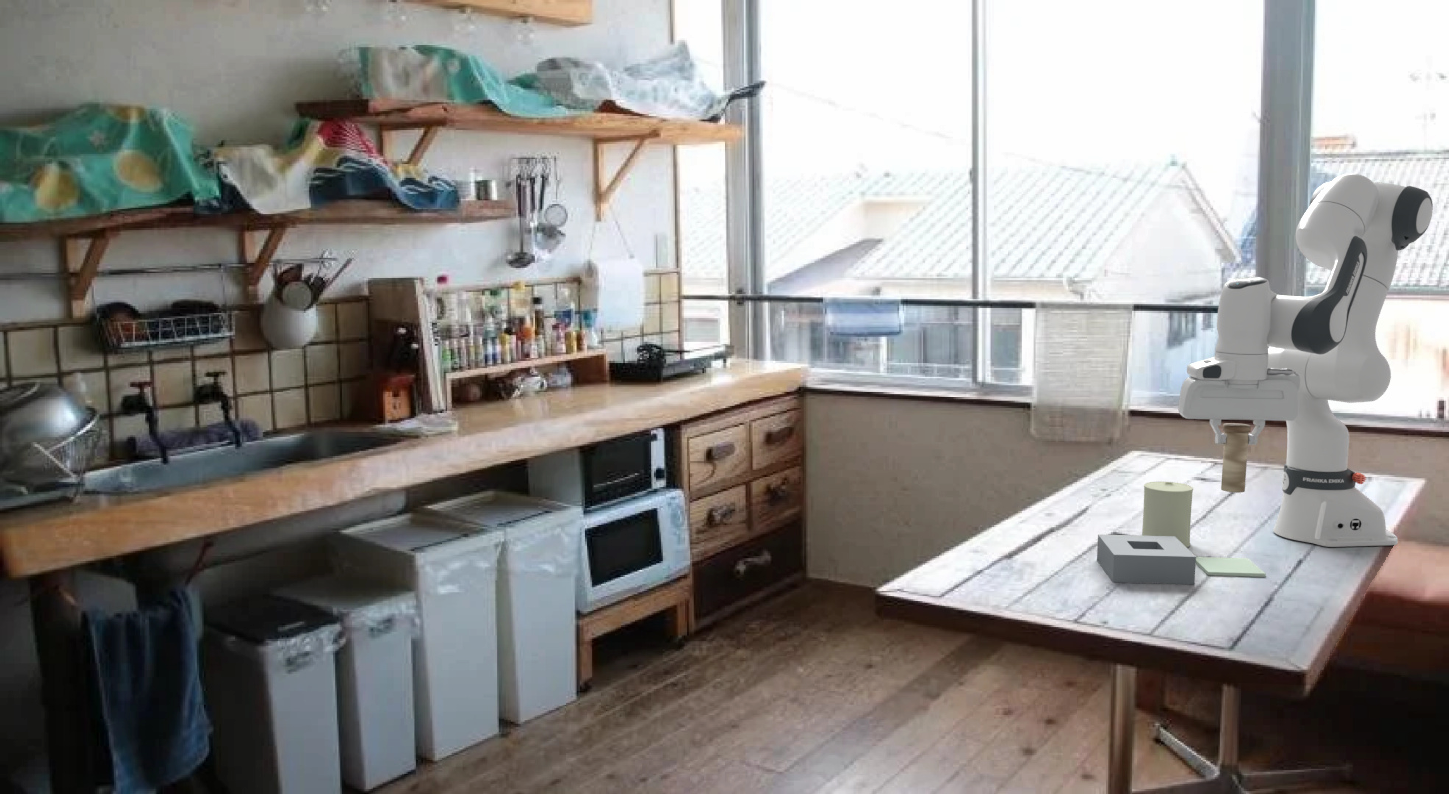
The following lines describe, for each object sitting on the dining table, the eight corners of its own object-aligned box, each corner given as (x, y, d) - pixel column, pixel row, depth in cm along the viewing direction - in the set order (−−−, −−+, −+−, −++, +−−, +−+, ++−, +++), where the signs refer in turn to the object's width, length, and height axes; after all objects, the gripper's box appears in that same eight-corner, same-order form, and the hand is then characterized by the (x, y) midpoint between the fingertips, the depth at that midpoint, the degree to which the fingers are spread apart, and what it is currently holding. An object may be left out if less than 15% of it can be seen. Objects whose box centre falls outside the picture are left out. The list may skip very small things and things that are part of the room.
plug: (1241, 487, 224) (1245, 423, 223) (1250, 493, 220) (1254, 427, 218) (1215, 487, 225) (1219, 422, 223) (1224, 492, 220) (1228, 427, 219)
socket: (1173, 562, 228) (1174, 536, 228) (1194, 584, 215) (1196, 556, 214) (1096, 560, 230) (1098, 534, 229) (1112, 582, 216) (1114, 554, 215)
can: (1189, 539, 245) (1192, 480, 243) (1191, 551, 236) (1194, 490, 234) (1141, 535, 248) (1143, 477, 246) (1140, 547, 239) (1143, 487, 237)
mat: (1247, 561, 229) (1247, 558, 229) (1265, 576, 219) (1265, 573, 219) (1192, 560, 230) (1192, 556, 230) (1208, 575, 220) (1208, 572, 220)
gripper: (1294, 366, 221) (1289, 441, 223) (1178, 365, 223) (1173, 439, 225) (1307, 371, 215) (1301, 448, 217) (1187, 369, 217) (1183, 445, 219)
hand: (1235, 443), depth 221 cm, fingers closed on plug, 4 cm apart
